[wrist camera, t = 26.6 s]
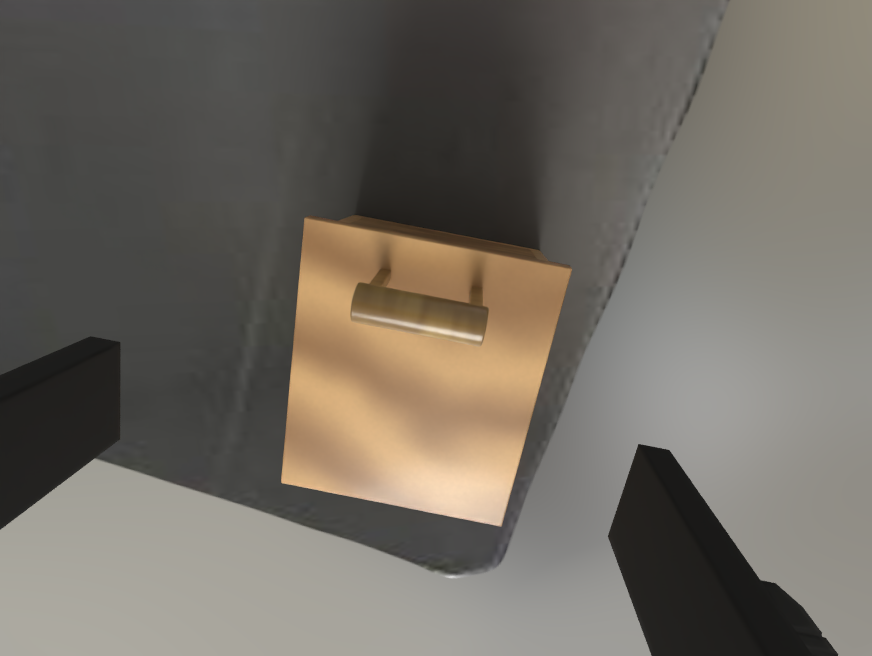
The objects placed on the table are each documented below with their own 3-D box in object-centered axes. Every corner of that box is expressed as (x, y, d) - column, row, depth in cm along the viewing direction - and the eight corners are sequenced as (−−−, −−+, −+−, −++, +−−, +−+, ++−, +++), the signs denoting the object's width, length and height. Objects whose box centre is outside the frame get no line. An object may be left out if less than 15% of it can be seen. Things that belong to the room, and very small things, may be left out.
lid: (308, 214, 31) (257, 237, 24) (569, 265, 31) (596, 303, 24) (285, 475, 38) (239, 554, 31) (501, 518, 38) (506, 608, 30)
